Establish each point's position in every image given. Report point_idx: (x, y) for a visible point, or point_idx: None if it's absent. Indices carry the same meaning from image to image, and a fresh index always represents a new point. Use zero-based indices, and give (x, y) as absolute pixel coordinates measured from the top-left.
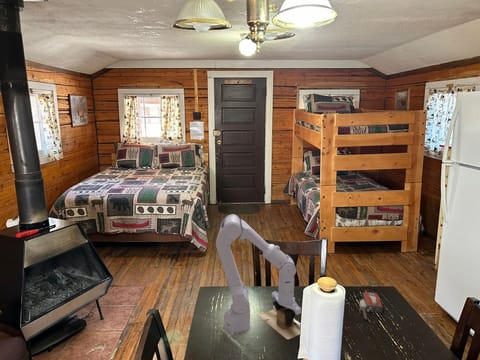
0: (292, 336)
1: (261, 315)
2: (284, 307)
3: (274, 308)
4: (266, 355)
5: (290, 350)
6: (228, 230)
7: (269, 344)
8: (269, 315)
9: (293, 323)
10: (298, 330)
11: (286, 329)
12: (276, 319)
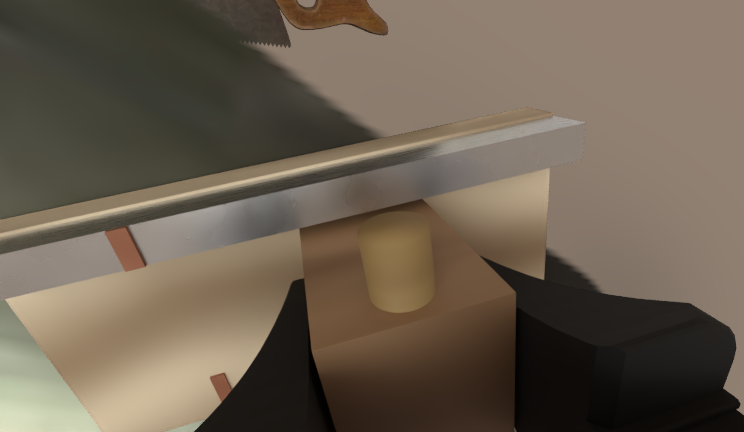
0: (534, 269)
1: (122, 418)
2: (333, 401)
3: (5, 290)
4: None
5: None
6: None
7: None
8: (141, 351)
9: (425, 202)
10: (502, 183)
11: None
12: (244, 310)
